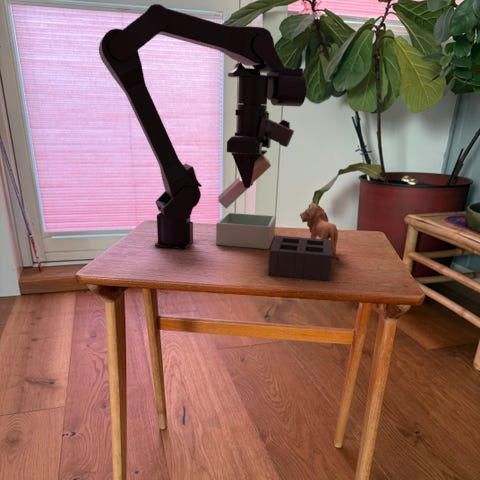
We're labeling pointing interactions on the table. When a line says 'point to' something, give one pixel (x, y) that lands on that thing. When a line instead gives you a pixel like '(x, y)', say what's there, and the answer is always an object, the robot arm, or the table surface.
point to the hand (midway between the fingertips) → (248, 186)
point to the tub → (245, 230)
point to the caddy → (300, 258)
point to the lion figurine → (320, 226)
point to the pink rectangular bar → (237, 186)
